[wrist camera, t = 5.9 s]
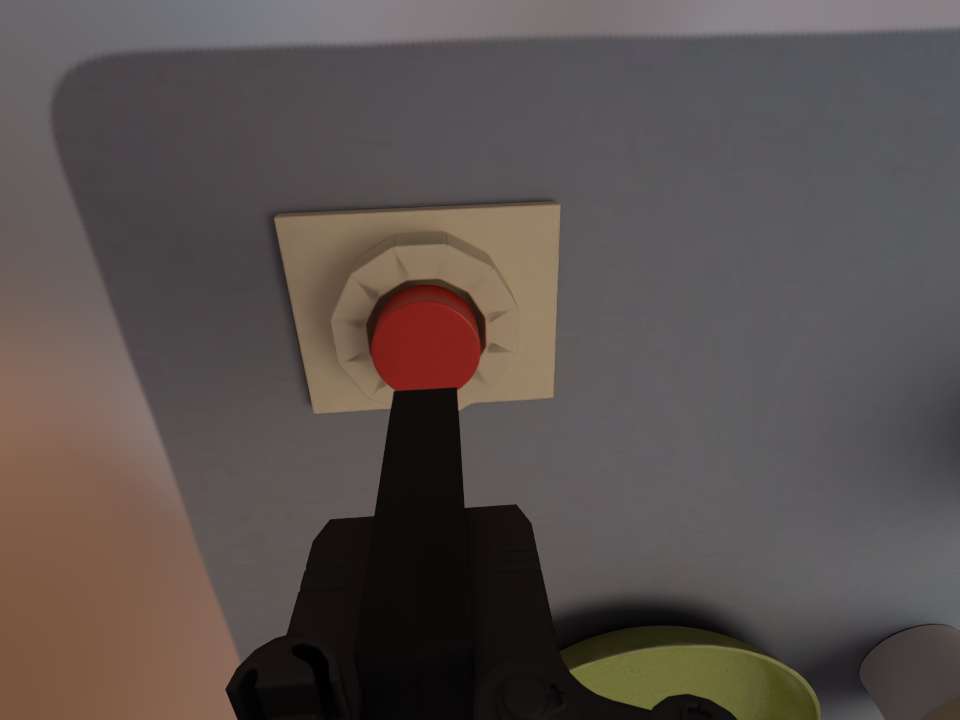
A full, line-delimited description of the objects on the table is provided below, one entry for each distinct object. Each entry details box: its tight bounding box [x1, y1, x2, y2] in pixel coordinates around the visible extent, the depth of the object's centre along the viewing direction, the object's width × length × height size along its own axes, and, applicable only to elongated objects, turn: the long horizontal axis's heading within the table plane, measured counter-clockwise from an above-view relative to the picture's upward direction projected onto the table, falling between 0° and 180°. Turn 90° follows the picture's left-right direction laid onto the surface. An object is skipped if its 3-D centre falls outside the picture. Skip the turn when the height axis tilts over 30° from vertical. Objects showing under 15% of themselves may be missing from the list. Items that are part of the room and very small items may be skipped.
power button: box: [371, 285, 481, 391], centre depth 18 cm, size 4×4×2 cm
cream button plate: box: [274, 201, 561, 414], centre depth 20 cm, size 10×8×2 cm
